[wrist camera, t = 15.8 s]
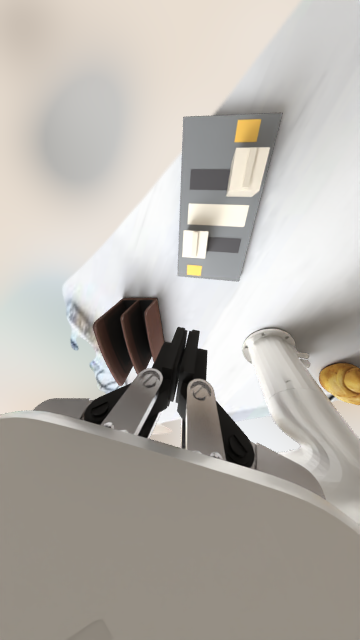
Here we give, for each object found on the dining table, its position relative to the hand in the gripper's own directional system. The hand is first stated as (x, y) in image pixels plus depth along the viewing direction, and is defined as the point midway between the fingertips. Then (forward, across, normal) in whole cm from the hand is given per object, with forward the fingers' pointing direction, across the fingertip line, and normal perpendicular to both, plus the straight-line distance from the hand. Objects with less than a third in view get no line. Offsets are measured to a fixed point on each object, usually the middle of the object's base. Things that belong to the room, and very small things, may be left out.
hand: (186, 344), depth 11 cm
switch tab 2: (+22, -3, -15) cm, 27 cm away
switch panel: (+25, 0, -11) cm, 27 cm away
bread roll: (+27, -42, +22) cm, 54 cm away
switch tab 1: (+22, +2, -6) cm, 23 cm away
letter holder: (+26, +14, +18) cm, 34 cm away
